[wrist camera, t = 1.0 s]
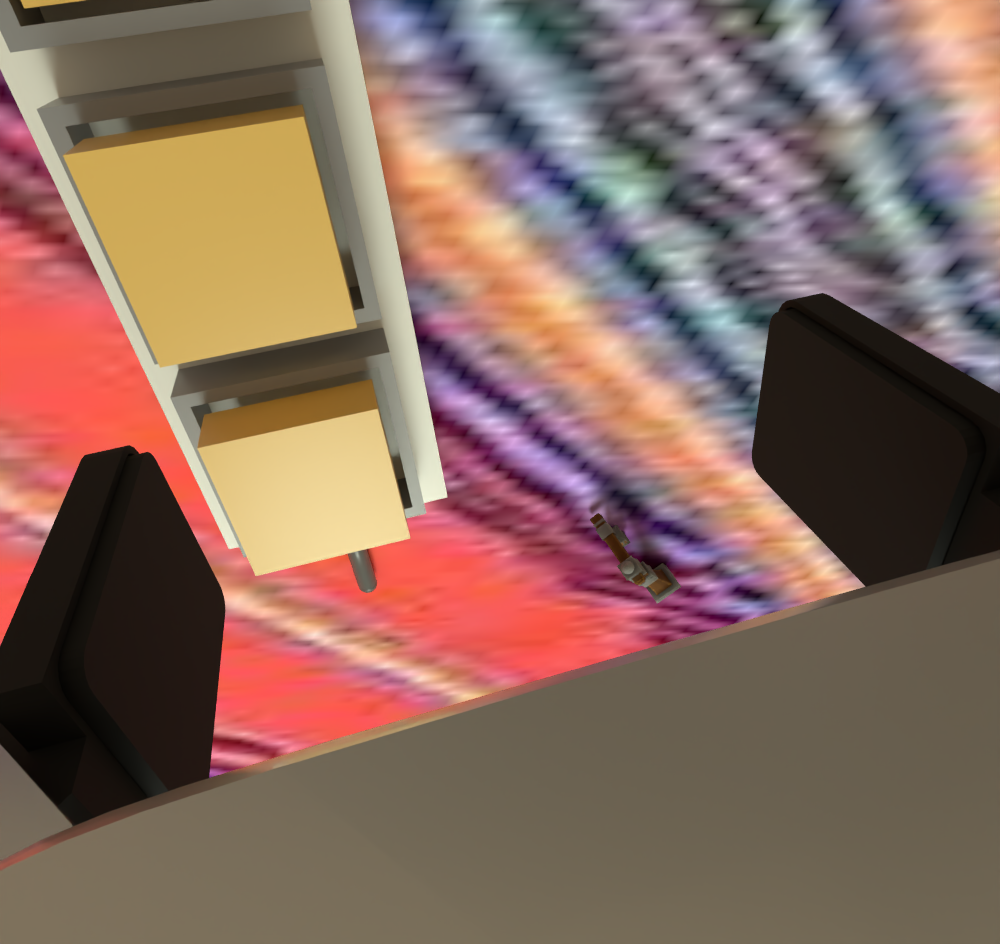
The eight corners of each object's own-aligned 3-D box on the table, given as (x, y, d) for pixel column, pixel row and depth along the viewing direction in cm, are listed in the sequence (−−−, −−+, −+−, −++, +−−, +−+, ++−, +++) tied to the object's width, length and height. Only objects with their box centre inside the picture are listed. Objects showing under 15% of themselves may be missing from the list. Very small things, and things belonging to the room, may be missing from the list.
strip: (257, -421, 17) (247, -545, 13) (456, 561, 38) (476, 630, 34) (-172, -396, 16) (-331, -523, 12) (277, 606, 37) (275, 683, 33)
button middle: (302, 104, 20) (303, 116, 18) (352, 301, 23) (357, 328, 21) (83, 138, 19) (62, 155, 17) (170, 337, 22) (160, 367, 21)
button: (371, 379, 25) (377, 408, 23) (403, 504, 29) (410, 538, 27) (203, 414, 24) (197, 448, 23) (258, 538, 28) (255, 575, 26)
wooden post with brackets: (601, 502, 38) (648, 569, 35) (641, 531, 44) (683, 589, 42) (575, 522, 38) (620, 589, 36) (619, 548, 45) (659, 606, 42)
